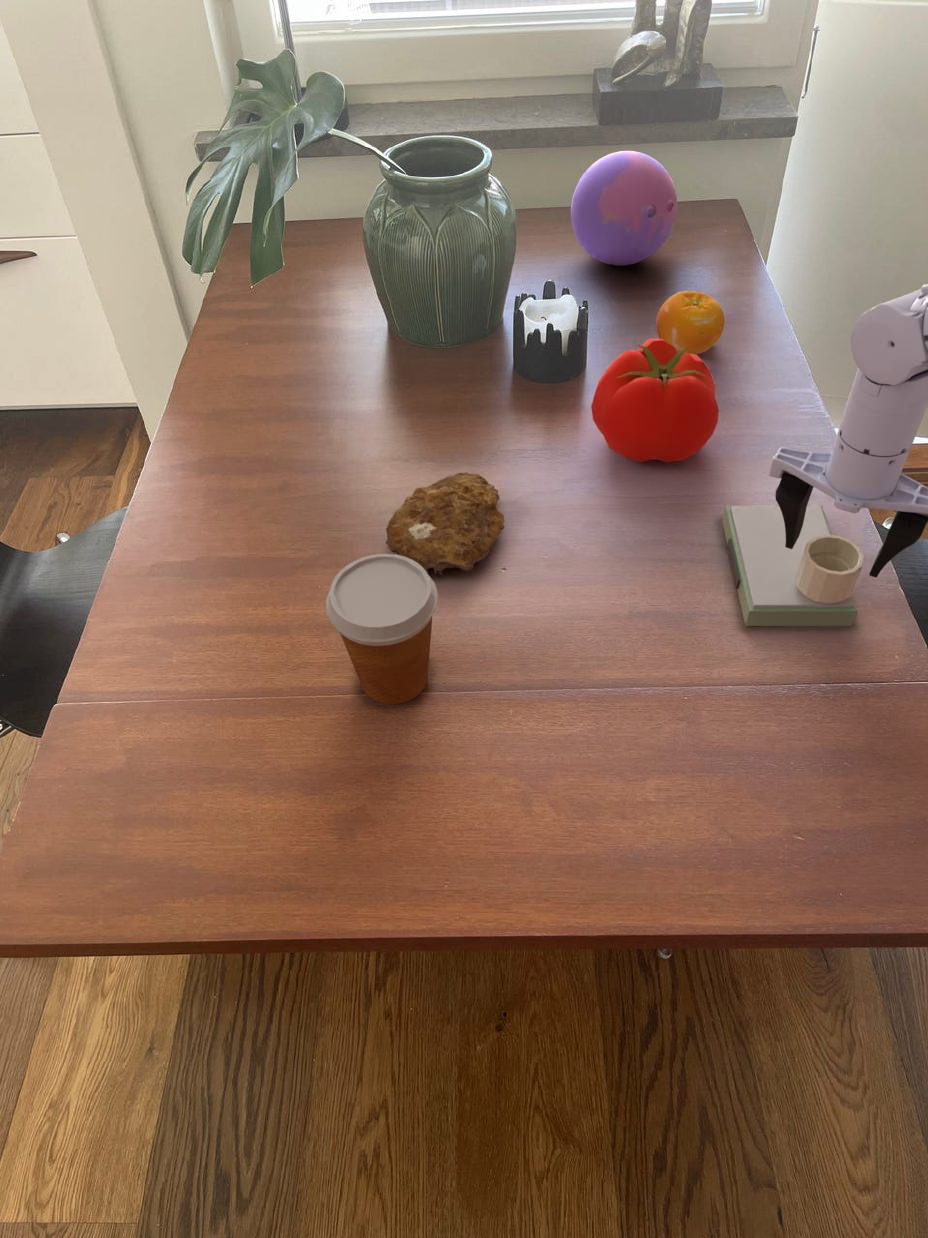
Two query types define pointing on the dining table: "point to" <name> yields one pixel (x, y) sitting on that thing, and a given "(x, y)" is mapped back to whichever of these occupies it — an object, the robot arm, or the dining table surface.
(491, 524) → the decorative rock
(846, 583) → the small beige cup
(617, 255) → the decorative ball
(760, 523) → the scale
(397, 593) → the disposable coffee cup
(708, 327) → the fruit
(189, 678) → the dining table surface
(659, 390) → the tomato
